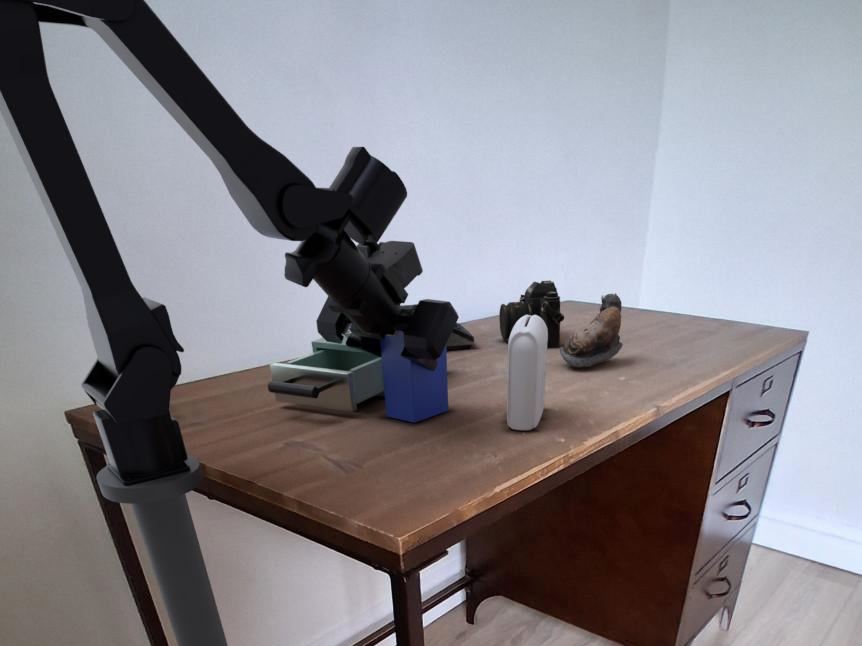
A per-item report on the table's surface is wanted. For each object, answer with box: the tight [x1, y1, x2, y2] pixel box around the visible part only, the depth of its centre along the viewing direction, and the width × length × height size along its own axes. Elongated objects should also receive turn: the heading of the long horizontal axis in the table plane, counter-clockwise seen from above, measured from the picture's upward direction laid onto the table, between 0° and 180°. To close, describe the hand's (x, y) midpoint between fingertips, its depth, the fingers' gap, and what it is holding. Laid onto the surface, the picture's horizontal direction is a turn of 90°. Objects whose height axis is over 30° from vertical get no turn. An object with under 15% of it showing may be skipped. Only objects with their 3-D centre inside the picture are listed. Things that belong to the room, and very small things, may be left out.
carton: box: [380, 331, 449, 424], centre depth 86 cm, size 7×5×12 cm
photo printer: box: [506, 315, 548, 431], centre depth 84 cm, size 10×4×12 cm, turn 169°
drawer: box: [267, 349, 384, 413], centre depth 92 cm, size 19×12×5 cm, turn 156°
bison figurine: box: [559, 292, 624, 369], centre depth 108 cm, size 12×7×10 cm, turn 135°
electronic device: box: [400, 303, 475, 351], centre depth 122 cm, size 12×17×6 cm
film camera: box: [498, 279, 565, 348], centre depth 124 cm, size 18×12×10 cm
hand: (419, 364), depth 87 cm, fingers closed on carton, 5 cm apart
